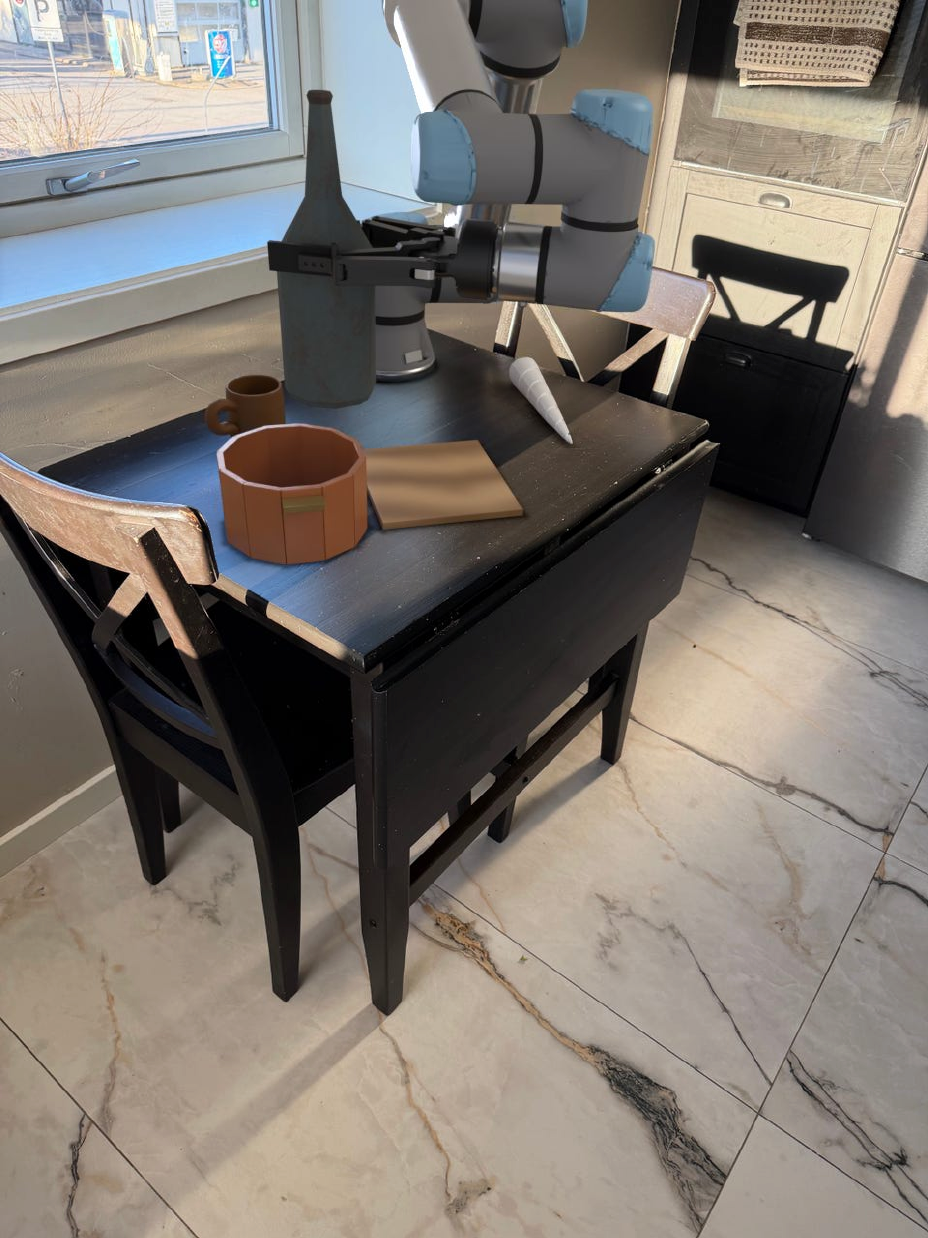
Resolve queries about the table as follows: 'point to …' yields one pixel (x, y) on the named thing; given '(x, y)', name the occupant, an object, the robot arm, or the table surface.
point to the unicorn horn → (538, 393)
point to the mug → (247, 405)
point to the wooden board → (436, 485)
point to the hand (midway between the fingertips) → (285, 241)
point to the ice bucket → (293, 492)
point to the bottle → (326, 286)
